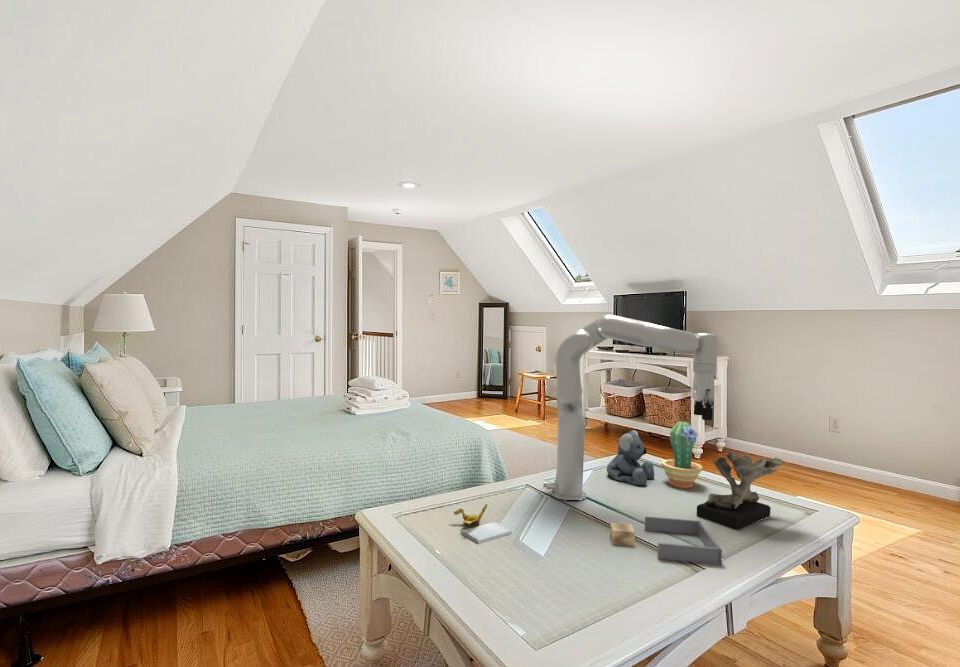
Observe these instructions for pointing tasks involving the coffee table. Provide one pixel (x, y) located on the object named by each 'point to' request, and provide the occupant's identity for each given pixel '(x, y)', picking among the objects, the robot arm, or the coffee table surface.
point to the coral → (738, 493)
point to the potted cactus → (682, 457)
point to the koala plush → (630, 461)
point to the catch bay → (685, 552)
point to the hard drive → (486, 532)
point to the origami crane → (471, 516)
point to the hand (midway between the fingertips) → (702, 417)
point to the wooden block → (622, 534)
